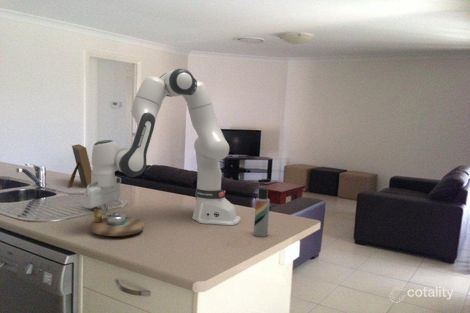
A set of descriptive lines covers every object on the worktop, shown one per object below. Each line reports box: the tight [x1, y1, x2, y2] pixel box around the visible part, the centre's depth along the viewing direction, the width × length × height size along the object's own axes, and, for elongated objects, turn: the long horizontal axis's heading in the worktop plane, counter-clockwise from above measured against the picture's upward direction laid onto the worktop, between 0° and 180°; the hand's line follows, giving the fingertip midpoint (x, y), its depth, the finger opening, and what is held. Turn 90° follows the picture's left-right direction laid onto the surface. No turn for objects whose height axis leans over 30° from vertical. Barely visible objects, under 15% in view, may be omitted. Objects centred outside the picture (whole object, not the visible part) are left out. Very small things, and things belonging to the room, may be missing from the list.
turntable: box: [90, 209, 145, 237], centre depth 154 cm, size 20×20×7 cm
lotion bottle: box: [253, 186, 271, 238], centre depth 160 cm, size 6×6×20 cm
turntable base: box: [101, 234, 133, 238], centre depth 155 cm, size 14×14×1 cm
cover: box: [106, 211, 126, 226], centre depth 154 cm, size 7×7×4 cm
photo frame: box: [67, 143, 92, 189], centre depth 242 cm, size 15×22×25 cm
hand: (102, 214), depth 158 cm, fingers closed
